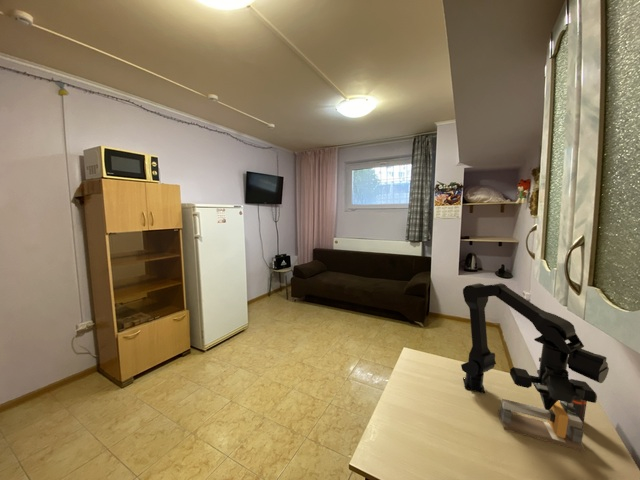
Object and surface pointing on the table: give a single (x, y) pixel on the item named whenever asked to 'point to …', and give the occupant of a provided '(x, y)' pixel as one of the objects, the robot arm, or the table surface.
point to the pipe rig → (539, 424)
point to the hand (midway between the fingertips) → (546, 409)
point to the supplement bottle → (575, 408)
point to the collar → (559, 420)
